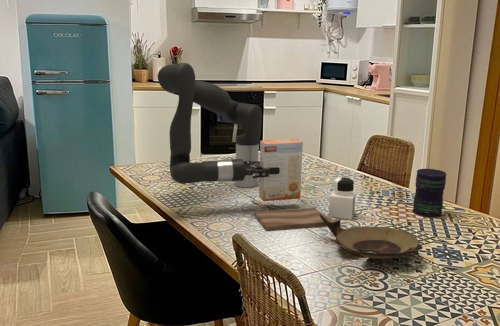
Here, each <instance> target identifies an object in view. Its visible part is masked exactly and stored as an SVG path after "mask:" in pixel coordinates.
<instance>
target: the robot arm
mask: <svg viewBox="0 0 500 326" xmlns="http://www.w3.org/2000/svg"><path fill="white" fill-rule="evenodd" d="M157 82H158V84H159V86H160V87H161V88H162V89H163V90H165V91H166V92H167V93H169V94H173V95H175V96H178V102H177V107H176V110H175V113H174V116H173V118H172V121H171V122H170V126H169V149H170V157H169V158H170V159H169V161H170V162H169V173H170V177H171V179H172V180H173V181H174V182H176V183H177V184H180V185H181V184H182V185H183V184H184V185H186V184H188V185H189V184H194V183H202V182H205V183H207V182H208V183H212V182H224V183H227V182H235V186H237V187H240V188H254V187H258V186H259V185H258V184H259V183H258V181H259V178H262V177H269V174H279V173H280V169H279V168H278V167H277V168H264V167H263V166H260V160H259V157H260V139H261V135H262V122H263V120H262V119H263V113H262V109H261V107H260V105H257V104H252V103H243V102H239V101H238V102H237V101H236V100H233V99H232V98H231V96H230V95H229V94H230V93H228V91H226V90H225V89H223V88H222V87H220V86H219V85H216V84H214V83H211V82H208V81H204V80H203V81H202V80H198V79H197V80H196V73H195V70H194V68H193V66H192V65H191V64H189V63H187V62H179V63H174V64H173V63H172V64H167V65H165V66H162V67H161V68H160V69H159V70H158V73H157ZM194 103H195V104H196V105H198V106H201V107H202V108H204V109H206V110H208V111H210V112H213V113H215V114H217V115H220V116H222V117H225V118H227V119H228V120H229V121H230V122H232V123H233V124H234V125H236V126H239V127H244V128H245V133H243V134H240V135H237V136H236V138H235V139H236V140H235V159H232V158H231V159H221V160H220V159H219V160H206V161H200V162H191V155H190V153H191V151H192V133H191V128H192V127H191V126H192V113H193V105H194ZM263 172H265V173H263Z"/></svg>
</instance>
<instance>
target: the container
mask: <svg viewBox="0 0 500 326" xmlns="http://www.w3.org/2000/svg"><path fill="white" fill-rule="evenodd" d="M354 184H355V181H354V180H353V179H352V178H349V177H345V176H342V177H341V176H340V177H337V178H335V179H334V181H333V191H332V192H331V194H330V196H329V206H328V207H329V208H328V217H329V218H335V219H340V220H342V219H344V220H349V221H351V220H353V216H354V215H355V211H356V210H355V209H356V197H357V192H356V191H354V186H355V185H354Z"/></svg>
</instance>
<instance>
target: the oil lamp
mask: <svg viewBox="0 0 500 326" xmlns="http://www.w3.org/2000/svg"><path fill="white" fill-rule="evenodd" d="M320 217H321V219H322V220H323V222H324V223H325V224H326V225H327V226H326V227H327V228H328V229H329V231H330V232H331V233H332V234H333V235H332V236H334V237H335V241H336V243H337V245H338V246H340V247H341V248H342V249H345V250H346V251H349V252H350V253H353V254H356V255H359V256H362V257H363V258H367V259H375V260H389V259H396V258H401V257H404V256H408V255H414V254H418V253H419V251H421V250H423V248H424V247H423V245H421V244H420V241H419V239H418V237H416V236H414V234H411V233H409V232H406V231H404V230H401V229H396V228H392V227H385V226H356V227H355V226H353V227H349V228H343V227H341V219H332V217H329V216H327V215H326V214H325V213H322V212H321V214H320Z"/></svg>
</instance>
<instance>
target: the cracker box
mask: <svg viewBox="0 0 500 326" xmlns="http://www.w3.org/2000/svg"><path fill="white" fill-rule="evenodd" d="M259 161H260V166H263V167H264V168H277V167H278V168H279V169H280V173H279V174H269V177H262V178H258V181H259V183H258V184H259V185H258V186H259V187H258V188H259V189H258V197H259V198H260V199H261V201H263V202H270V201H271V202H275V201H284V200H285V201H286V200H300V199H301V189H302V188H301V187H302V169H303V168H302V167H303V166H302V164H303V141H301V140H299V139H297V138H296V139H291V138H290V139H289V138H288V139H267V140H263V139H262V140H259ZM263 173H265V172H263Z"/></svg>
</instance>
